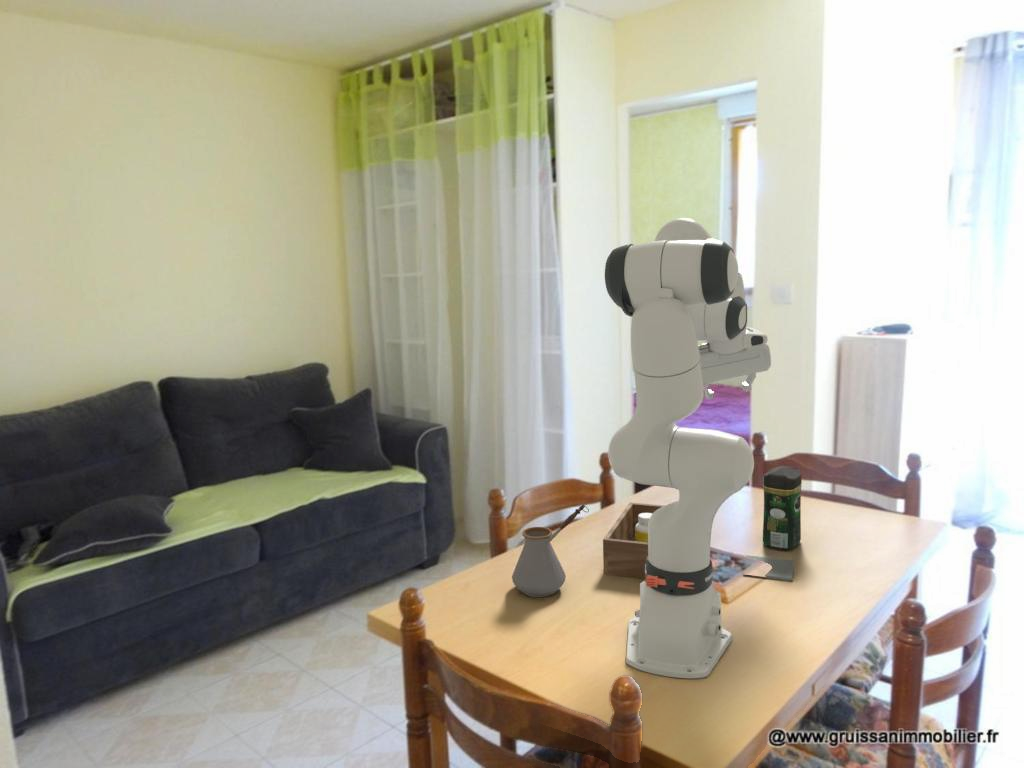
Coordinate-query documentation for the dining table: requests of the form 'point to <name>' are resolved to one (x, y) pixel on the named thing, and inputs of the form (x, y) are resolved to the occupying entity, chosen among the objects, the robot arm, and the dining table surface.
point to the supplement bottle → (642, 527)
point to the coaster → (777, 568)
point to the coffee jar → (782, 508)
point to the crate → (626, 544)
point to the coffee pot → (540, 561)
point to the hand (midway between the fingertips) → (728, 394)
